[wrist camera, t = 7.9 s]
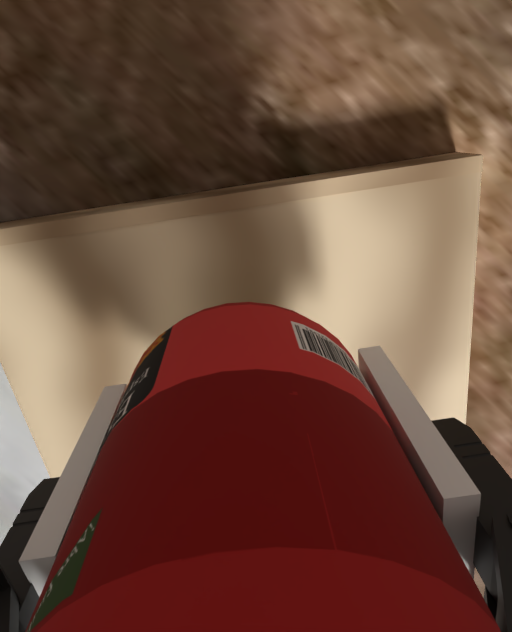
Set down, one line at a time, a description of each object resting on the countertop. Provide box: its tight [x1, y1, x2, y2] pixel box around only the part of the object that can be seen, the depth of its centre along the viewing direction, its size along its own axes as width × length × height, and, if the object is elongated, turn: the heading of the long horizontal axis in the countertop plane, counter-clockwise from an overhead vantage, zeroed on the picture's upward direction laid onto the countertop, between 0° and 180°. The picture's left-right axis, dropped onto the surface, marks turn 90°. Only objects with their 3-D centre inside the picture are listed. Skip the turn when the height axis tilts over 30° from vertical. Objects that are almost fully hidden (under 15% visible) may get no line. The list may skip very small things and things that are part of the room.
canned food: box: [25, 302, 501, 632], centre depth 10 cm, size 8×8×11 cm
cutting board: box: [0, 152, 483, 478], centre depth 20 cm, size 20×13×2 cm, turn 98°
